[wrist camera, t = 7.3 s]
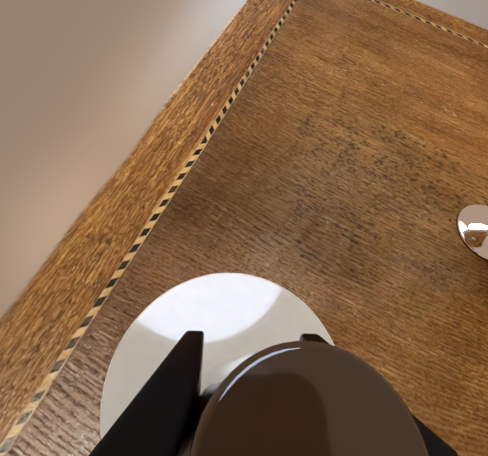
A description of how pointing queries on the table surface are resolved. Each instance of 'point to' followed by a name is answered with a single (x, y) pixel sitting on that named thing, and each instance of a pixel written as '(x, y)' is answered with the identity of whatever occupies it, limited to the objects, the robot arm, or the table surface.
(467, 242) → the wineglass
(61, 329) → the table surface
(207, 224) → the table surface
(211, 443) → the pole on white disc
